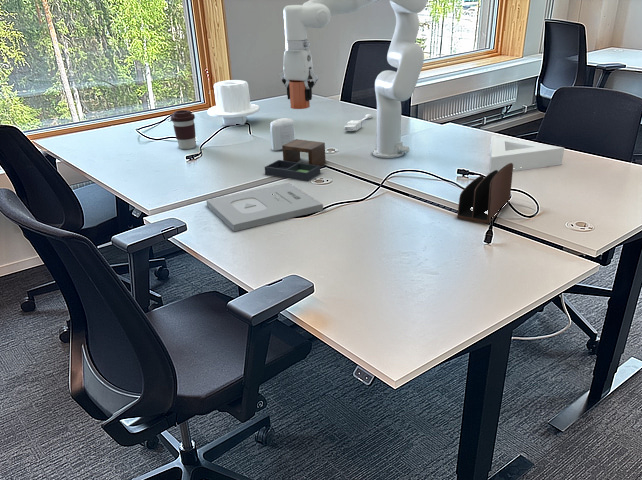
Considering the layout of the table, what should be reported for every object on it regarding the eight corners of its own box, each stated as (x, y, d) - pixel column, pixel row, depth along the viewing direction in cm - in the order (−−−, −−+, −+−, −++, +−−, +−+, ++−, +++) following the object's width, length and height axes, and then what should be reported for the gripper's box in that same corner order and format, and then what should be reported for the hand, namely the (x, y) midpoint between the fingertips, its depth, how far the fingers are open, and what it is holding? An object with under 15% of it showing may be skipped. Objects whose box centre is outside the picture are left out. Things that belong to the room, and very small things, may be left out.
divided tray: (320, 173, 216) (320, 165, 214) (307, 181, 209) (306, 173, 207) (279, 167, 224) (278, 159, 222) (265, 174, 217) (264, 166, 215)
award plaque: (323, 210, 184) (322, 203, 183) (234, 231, 172) (233, 224, 171) (289, 188, 203) (288, 182, 202) (207, 206, 191) (206, 199, 190)
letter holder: (509, 203, 185) (515, 159, 178) (488, 225, 171) (493, 178, 164) (479, 197, 190) (483, 155, 183) (456, 218, 175) (460, 173, 168)
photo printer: (291, 145, 250) (289, 115, 244) (296, 147, 247) (294, 117, 241) (270, 149, 245) (267, 119, 239) (275, 151, 242) (272, 121, 236)
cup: (313, 105, 210) (312, 79, 206) (302, 109, 205) (301, 83, 201) (297, 104, 213) (296, 78, 209) (286, 108, 208) (284, 81, 204)
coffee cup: (171, 149, 250) (164, 113, 242) (184, 143, 258) (178, 108, 250) (190, 151, 247) (184, 115, 239) (203, 144, 254) (198, 109, 247)
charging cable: (374, 119, 289) (374, 112, 288) (353, 132, 263) (353, 125, 261) (364, 118, 291) (364, 111, 289) (343, 132, 264) (343, 124, 263)
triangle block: (561, 164, 217) (564, 147, 213) (528, 183, 200) (530, 165, 197) (489, 150, 235) (491, 134, 231) (454, 166, 218) (455, 149, 215)
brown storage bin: (325, 163, 227) (324, 142, 223) (312, 170, 219) (311, 149, 215) (297, 159, 233) (296, 139, 228) (283, 166, 225) (282, 145, 221)
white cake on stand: (257, 128, 276) (253, 87, 267) (205, 130, 277) (199, 88, 267) (263, 116, 298) (260, 77, 288) (215, 117, 298) (209, 78, 289)
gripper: (324, 45, 198) (325, 99, 207) (281, 43, 205) (285, 95, 214) (312, 47, 192) (314, 103, 201) (269, 45, 200) (273, 99, 209)
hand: (299, 99), depth 208 cm, fingers closed on cup, 6 cm apart
